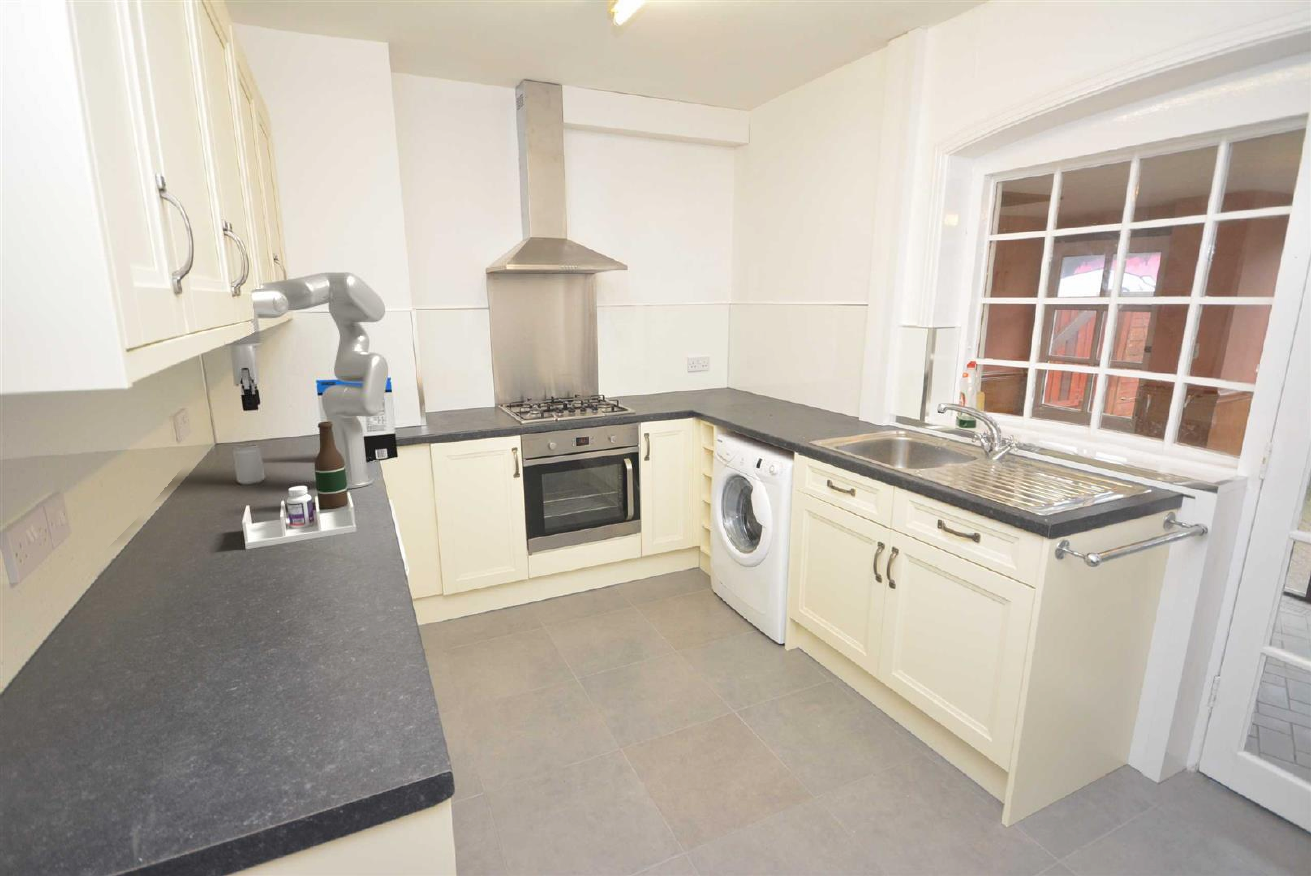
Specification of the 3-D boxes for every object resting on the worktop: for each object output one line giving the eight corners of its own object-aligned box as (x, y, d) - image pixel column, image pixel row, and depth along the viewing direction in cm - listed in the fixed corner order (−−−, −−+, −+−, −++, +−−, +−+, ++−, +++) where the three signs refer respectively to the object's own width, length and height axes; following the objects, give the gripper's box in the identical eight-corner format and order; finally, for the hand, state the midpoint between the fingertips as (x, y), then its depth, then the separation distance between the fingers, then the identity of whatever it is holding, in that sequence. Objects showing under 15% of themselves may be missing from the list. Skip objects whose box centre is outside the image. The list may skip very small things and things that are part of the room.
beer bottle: (322, 511, 171) (312, 426, 166) (316, 504, 177) (306, 422, 172) (352, 505, 176) (343, 422, 171) (345, 499, 182) (336, 418, 177)
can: (231, 484, 197) (226, 447, 195) (251, 477, 204) (246, 442, 202) (251, 485, 195) (245, 448, 193) (270, 479, 202) (265, 443, 200)
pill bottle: (307, 520, 160) (302, 483, 158) (319, 523, 157) (314, 486, 155) (285, 526, 155) (280, 488, 153) (297, 530, 152) (292, 492, 150)
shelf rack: (249, 529, 157) (246, 505, 156) (351, 514, 168) (349, 491, 167) (245, 549, 144) (242, 522, 143) (356, 531, 156) (353, 506, 154)
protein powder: (397, 460, 228) (390, 378, 221) (323, 466, 219) (313, 381, 213) (398, 454, 236) (391, 376, 230) (327, 459, 228) (317, 378, 222)
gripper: (227, 338, 159) (237, 404, 163) (220, 341, 144) (231, 414, 148) (262, 337, 163) (270, 402, 166) (258, 340, 148) (268, 411, 152)
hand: (252, 407), depth 157 cm, fingers open, 9 cm apart
